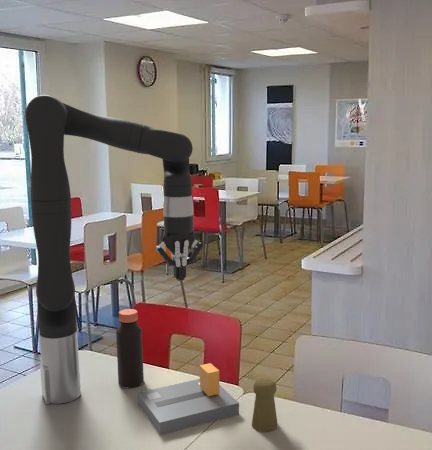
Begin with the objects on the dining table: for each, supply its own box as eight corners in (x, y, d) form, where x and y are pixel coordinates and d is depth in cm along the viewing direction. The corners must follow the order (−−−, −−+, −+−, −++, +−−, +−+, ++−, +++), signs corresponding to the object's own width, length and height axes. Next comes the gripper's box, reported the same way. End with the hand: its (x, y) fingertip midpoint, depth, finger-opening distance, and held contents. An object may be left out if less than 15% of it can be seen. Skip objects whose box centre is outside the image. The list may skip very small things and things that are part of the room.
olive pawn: (276, 433, 127) (276, 387, 125) (249, 431, 129) (249, 385, 127) (279, 419, 133) (279, 375, 131) (253, 417, 135) (253, 373, 133)
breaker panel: (160, 434, 127) (159, 422, 127) (137, 403, 142) (137, 392, 141) (238, 414, 136) (238, 402, 135) (210, 387, 150) (210, 376, 150)
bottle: (113, 384, 152) (109, 313, 149) (130, 375, 158) (127, 306, 154) (131, 391, 149) (128, 317, 145) (149, 381, 154) (146, 310, 150)
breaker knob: (208, 396, 138) (208, 373, 137) (200, 387, 142) (199, 365, 141) (219, 393, 139) (219, 370, 138) (210, 385, 144) (210, 363, 143)
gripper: (196, 209, 150) (197, 273, 153) (148, 213, 144) (150, 279, 147) (208, 213, 143) (209, 280, 146) (158, 217, 137) (160, 286, 141)
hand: (179, 279), depth 147 cm, fingers closed
